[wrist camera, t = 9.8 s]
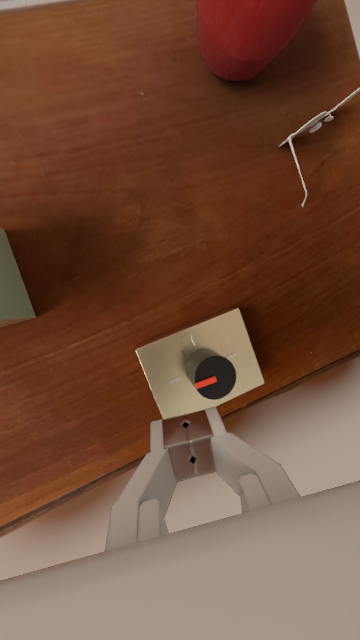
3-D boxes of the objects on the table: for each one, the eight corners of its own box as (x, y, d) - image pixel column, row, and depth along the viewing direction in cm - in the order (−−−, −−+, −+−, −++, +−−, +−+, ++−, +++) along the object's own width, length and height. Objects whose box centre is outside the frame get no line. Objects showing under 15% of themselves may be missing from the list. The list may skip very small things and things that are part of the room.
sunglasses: (341, 104, 31) (381, 72, 26) (358, 164, 33) (398, 144, 28) (267, 153, 29) (296, 129, 24) (291, 212, 32) (322, 200, 27)
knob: (216, 343, 26) (231, 350, 21) (226, 378, 26) (242, 391, 22) (180, 355, 25) (189, 365, 21) (191, 391, 25) (202, 407, 21)
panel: (252, 376, 30) (265, 383, 27) (164, 417, 28) (167, 430, 25) (228, 307, 29) (239, 307, 26) (135, 345, 27) (134, 349, 24)
